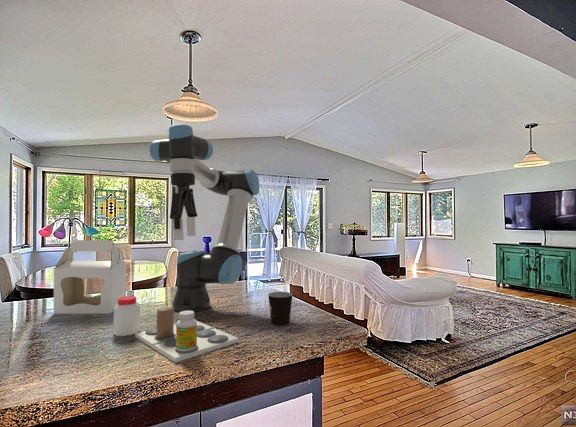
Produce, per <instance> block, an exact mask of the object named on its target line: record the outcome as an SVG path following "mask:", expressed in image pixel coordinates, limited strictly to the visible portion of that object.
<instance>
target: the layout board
mask: <svg viewBox="0 0 576 427" xmlns="http://www.w3.org/2000/svg"><path fill="white" fill-rule="evenodd" d="M174 312H175V310H174V308H172V306H170V307H169V306H167V307H160V308H158V309H156V327H153V328H149V329H147V330H144V331H143V330H142V331H139V332H138V333H135V334H134V335H135V336H134V337H135V338H136V339H137V338H138V341H140V342H142V343H144V344H145V345H147V346H148V347H150V348H151V349H153V350H155V352H158V353H159V354H160V355H162V356H164V357H165V358H167V359H168V360H170V361H171V362H173V363H178V362H182V361H185V360H188V359H191V358H194V357H197V356H200V355H203V354H206V353H210V352H212V351H215V350H218V349H221V348H224V347H227V346H230V345H233V344H237V343H239V337H238V336H234V335H233V334H230V333H227V332H225V331H222V330H220V329H218V328H215V327H214V326H210V325H208V324H205V323H204V322H201V321H198V320H196V321H197V346H196V348H195V349H193V350H191V351H184V352H183V351H178V350H177V349H176V324H177V322H176V323H174V317H175V316H174V315H175V313H174Z"/></svg>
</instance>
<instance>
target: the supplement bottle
mask: <svg viewBox="0 0 576 427" xmlns="http://www.w3.org/2000/svg"><path fill="white" fill-rule="evenodd" d="M178 319H179V320H177V322H176V323H177V324H176V323H175V324H176V349H177V350H178V351H183V352H184V351H191V350H193V349H195V348H196V346H197V321H198V320H196V319H195V311H182V312H180V311H179V313H178Z"/></svg>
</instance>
